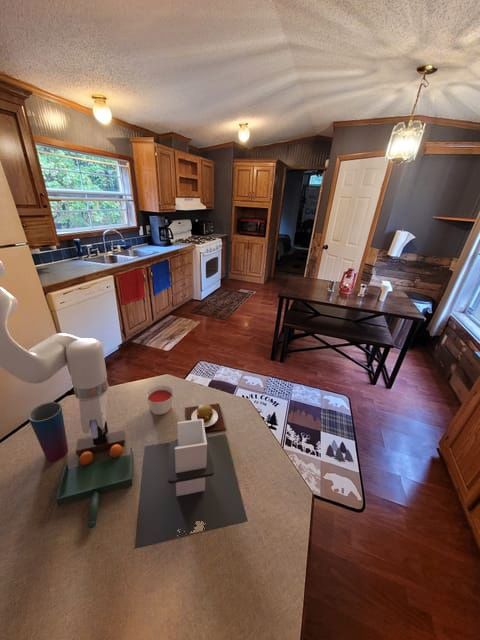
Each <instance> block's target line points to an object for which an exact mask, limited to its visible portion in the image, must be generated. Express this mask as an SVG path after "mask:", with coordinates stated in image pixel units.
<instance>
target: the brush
mask: <svg viewBox="0 0 480 640" xmlns="http://www.w3.org/2000/svg"><path fill="white" fill-rule="evenodd" d="M98 430H101V429H100V428H98ZM104 431H105V426H104ZM105 432H106V431H105ZM106 437H107V443H104V444H99V445H94V443H93V440H92V435H91V436H87V437H82V438H78V439H77V444H76V448H75V453H76V455H77V457H79V458H80V456H81V455H82V454H83V453H84V452H87V451H89V452H91V453H92V454H96V453H100V452H104V451H108V450H109V451H110V449H111V447H112V446H114V445H116V444H118V445H120V446H121V447H122V448H123V447H125V445H126V430H125V429H120V430H116V431H111V432H108V433H107V434H106Z"/></svg>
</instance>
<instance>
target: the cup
mask: <svg viewBox="0 0 480 640" xmlns="http://www.w3.org/2000/svg"><path fill="white" fill-rule="evenodd" d="M63 413H64V412H63V407H62V405H61V403H60V402H56V401H49V402H44V403H41V404H40V405H37V406H36V407H34V408H33V409H32V410H30V411H29V413H28V414H27V415H28V416H27V418H28V421H29V423H30V425H31V428H32V430H33V432H34V434H35V437H36V438H37V441H38V443H39V445H40V448H41V450H42V452H43V454H44V457H45V459H46V460H47V461H49V462H56V461H59V460H61V459H62V458H64V457H65V456H66V455H67V453H68V451H69V446H68V439H67V433H66V432H67V431H66V426H65V420H64V415H63Z"/></svg>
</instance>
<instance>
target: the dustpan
mask: <svg viewBox="0 0 480 640" xmlns="http://www.w3.org/2000/svg"><path fill="white" fill-rule="evenodd" d="M133 453H134V452H133V447H130V448H129V454H127V455H122V456H118V457H112V458H110V459H105V460H101V461H98V462H93V463H89V464H87V465H81V466H77V467H72V468H69V465H68V463H67V462H65V463H64V466H63V470H62V474H61V477H60V481H59V484H58V489H57V492H56V496H55V503H56V505H57V507H61V506H65V505H67V504H71V503H75V502H78V501H82V500H85V499H89V498H91V499H90V505H89V512H88V517H87V518H88V519H87V528H88V529H90V530H91V529H94V528H95V527H96V525H97V520H98V510H99V502H100V495H103V494H106V493H110V492H114V491H117V490H121V489H125V488H127V487H131V486H133V478H134V477H133V476H134V475H133V472H134V470H133V469H134V468H133V467H134V466H133V464H134V460H133V459H134V454H133Z"/></svg>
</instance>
